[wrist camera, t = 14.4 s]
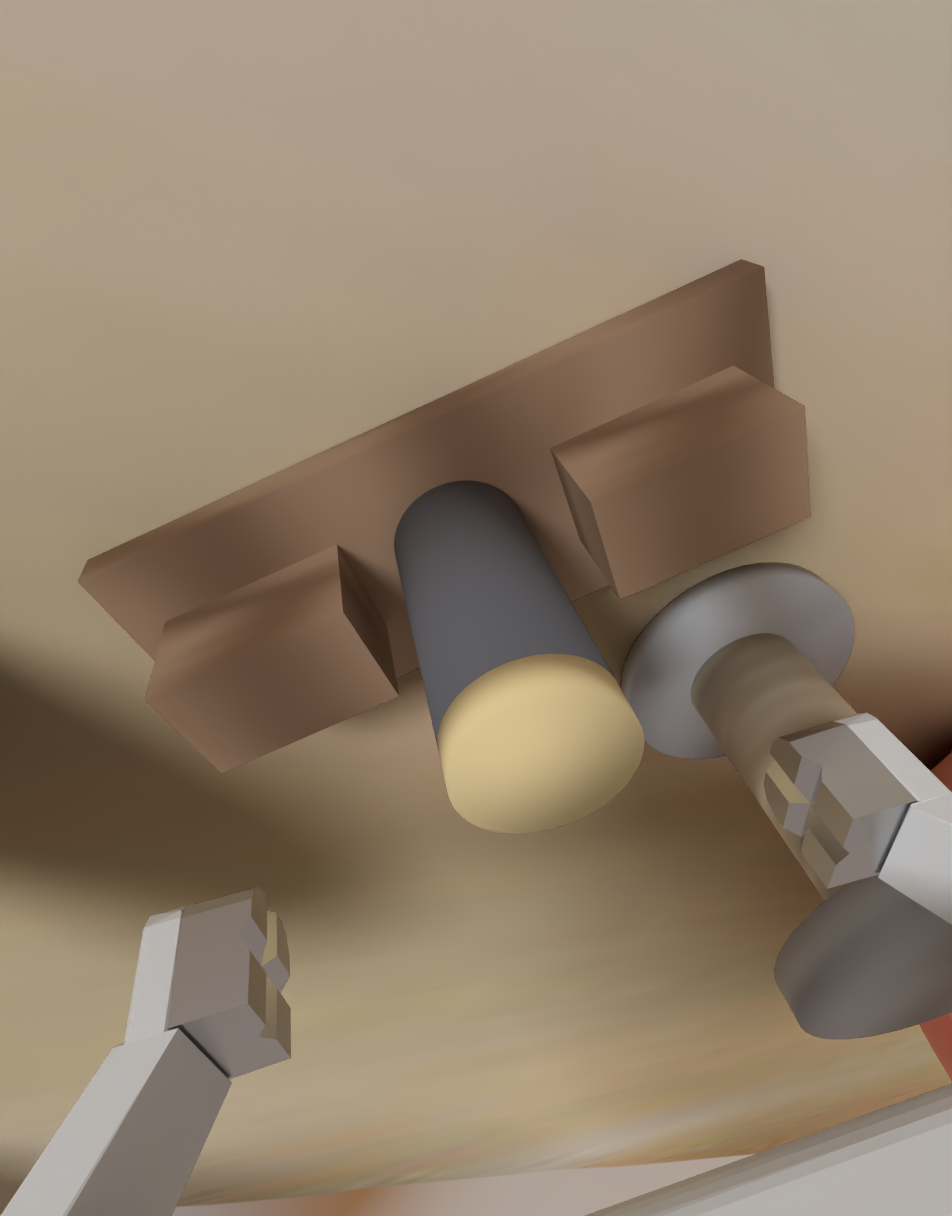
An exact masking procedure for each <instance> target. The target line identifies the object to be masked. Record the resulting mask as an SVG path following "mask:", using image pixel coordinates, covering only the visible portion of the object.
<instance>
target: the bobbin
mask: <svg viewBox="0 0 952 1216" xmlns="http://www.w3.org/2000/svg"><path fill="white" fill-rule="evenodd" d="M853 640H854V622H853V617H852V614H851V611H850V609H849V607H848V605H847V604H846V602H845V601H844V600H843V598H842V597H841V596H840V595H839V594H838V593H837V592H836V591H834V590H833V589H832V588H831V587H830V586H829V585H828V584H826V583H825V582H824V581H823V580H822V579H821V578H820V577H818V576H817V575H815V574H814V573H813V572H811V571H809V570H807V569H804V568H802V567H799V566H795V565H791V564H786V563H775V562H774V563H758V564H751V565H745V566H741V567H738V568H734V569H730V570H727V571H725V572H722V573H720V574H717V575H714V576H712V577H710V578H708V579H706V580H704V581H702V582H700V583H698V584H697V585H695V586H693V587H692V588H690V589H688V590H687V591H685V592H684V593H682V594H681V595H680V596H678V597H677V598H675V599H674V600H673V601H671V602H670V603H669V604H668V605H667V606H666V607H665V608H663V609H662V610H661V611H660V612H659V613H658V614H657V615H656V616H655V617H654V618H653V619H652V620H651V622H650V623H649V624H648V625H647V626H646V627H645V629H644V630H643V631H642V633H641V634H640V635H639V637H638V638H637V640H636V642H635V643H634V645H633V647H632V648H631V650H630V653H629V655H628V657H627V660H626V662H625V665H624V669H623V672H622V679H621V690H622V692H623V694H624V695H625V697H626V699H627V701H628V702H629V704H630V706H631V708H632V710H633V711H634V713H635V715H636V717H637V718H638V720H639V722H640V724H641V726H642V729H643V733H644V741H645V742H646V743H647V744H648V745H650V746H651V747H652V748H654V749H656V750H657V751H659V752H661V753H664V754H666V755H669V756H673V757H678V758H685V759H707V758H716V757H721V756H726V755H727V756H728V758H729V759H730V761H731V762H732V764H733V765H734V767H735V768H736V770H737V771H738V773H739V774H740V776H741V777H742V779H743V780H744V782H745V783H746V785H747V786H748V788H749V789H750V791H751V792H752V794H753V795H754V797H755V798H756V800H757V801H758V803H759V804H760V806H761V807H762V809H763V810H764V812H765V813H766V815H767V816H768V817H769V819H770V820H771V822H772V823H773V825H774V826H775V828H776V829H777V831H778V832H779V834H780V835H781V837H782V838H783V840H784V841H785V843H786V844H787V846H788V847H789V849H790V850H791V852H792V853H793V855H794V856H795V858H796V859H797V861H798V862H799V864H800V865H801V867H802V868H803V870H804V871H805V873H806V874H807V876H808V877H809V879H810V880H811V881H812V883H813V884H814V886H815V887H816V889H817V890H818V892H819V893H820V895H821V896H822V898H823V899H824V902H823V903H822V904H821V905H819V906H818V907H817V908H816V909H815V910H814V911H813V912H812V913H811V914H810V915H809V916H808V917H807V918H805V919H804V920H803V921H802V922H801V924H800V925H799V926H798V927H797V928H796V929H795V931H794V932H793V933H792V934H791V935H790V937H789V938H788V940H787V941H786V943H785V944H784V946H783V947H782V949H781V951H780V953H779V955H778V957H777V960H776V964H775V968H774V974H775V980H776V982H777V985H778V987H779V989H780V990H781V992H782V994H783V996H784V998H785V999H786V1001H787V1003H788V1005H789V1007H790V1008H791V1010H792V1012H793V1014H794V1016H795V1017H796V1019H797V1021H798V1023H799V1025H800V1026H801V1027H802V1029H803V1030H804V1031H805V1032H807V1033H809V1034H811V1035H813V1036H816V1037H820V1038H825V1039H854V1038H863V1037H869V1036H875V1035H880V1034H884V1033H889V1032H893V1031H897V1030H900V1029H904V1028H908V1027H911V1026H914V1025H917V1024H920V1023H923V1022H926V1021H930V1020H932V1019H935V1018H938V1017H940V1016H943V1015H946V1014H948V1013H951V1012H952V925H951V924H949V923H948V922H946V921H945V920H943V919H942V918H940V917H939V916H937V915H935V914H934V913H932V912H931V911H929V910H928V909H926V908H925V907H923V906H921V905H920V904H918V903H917V902H915V901H914V900H912V899H911V898H909V897H907V896H906V895H904V894H903V893H901V892H900V891H898V890H896V889H895V888H893V887H892V886H890V885H889V884H887V883H886V882H884V881H882V880H881V879H879V878H878V876H879V874H878V875H874V876H871V877H867V878H864V879H860V880H857V881H853V882H850V883H846V884H843V885H839V886H836V887H832V888H829V889H827V888H826V886H825V885H824V884H823V882H822V881H821V879H820V878H819V877H818V875H817V874H816V872H815V871H814V870H813V868H812V867H811V866H810V864H809V863H808V861H807V860H806V859H805V857H804V856H803V855H802V853H801V852H800V843H801V837H800V836H799V835H797V834H795V833H793V832H791V831H789V830H787V829H785V828H783V826H782V825H781V824H780V822H779V821H778V819H777V818H776V816H775V815H774V813H773V811H772V809H771V807H770V805H769V803H768V801H767V797H766V793H765V789H764V779H765V772H766V770H767V769H768V768H769V767H770V766H771V765H772V764H773V763H774V761H775V759H774V758H773V757H772V755H771V754H770V750H771V746H772V742H773V741H774V740H776V739H777V738H778V737H781V736H784V735H787V734H791V733H794V732H797V731H800V730H804V729H807V728H810V727H813V726H817V725H820V724H823V723H827V722H830V721H836V720H840V719H843V718H846V717H849V716H853V715H856V714H857V713H856V712H855V711H854V710H853V708H852V707H851V706H850V705H849V704H848V703H847V702H846V701H845V700H844V699H843V698H842V697H841V696H840V695H839V694H838V692H837V691H836V690H835V689H834V688H833V685H834V684H835V682H836V681H837V679H838V678H839V676H840V675H841V673H842V671H843V669H844V667H845V665H846V663H847V661H848V658H849V656H850V653H851V649H852V645H853Z"/></svg>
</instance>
